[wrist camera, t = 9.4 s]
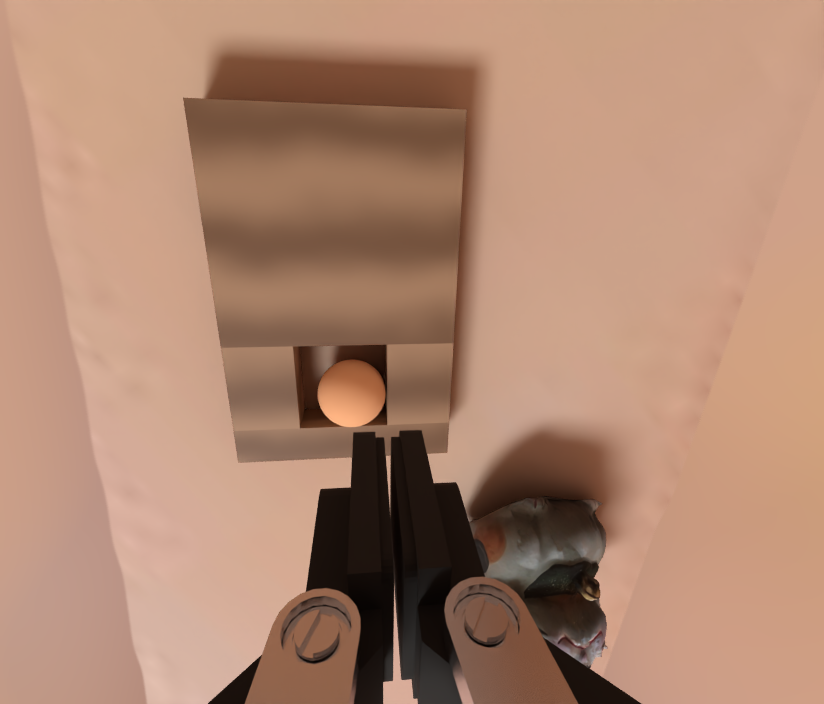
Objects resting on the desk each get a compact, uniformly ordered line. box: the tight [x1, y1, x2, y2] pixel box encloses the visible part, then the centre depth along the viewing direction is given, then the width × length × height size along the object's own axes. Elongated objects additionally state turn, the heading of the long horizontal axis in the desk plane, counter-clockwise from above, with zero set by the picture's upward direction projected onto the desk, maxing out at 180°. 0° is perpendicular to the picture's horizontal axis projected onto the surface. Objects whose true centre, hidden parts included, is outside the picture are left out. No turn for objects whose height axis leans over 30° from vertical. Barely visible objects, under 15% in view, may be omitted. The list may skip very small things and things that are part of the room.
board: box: [183, 98, 467, 463], centre depth 30 cm, size 24×16×3 cm, turn 179°
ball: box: [318, 359, 386, 427], centre depth 32 cm, size 5×5×5 cm
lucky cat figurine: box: [469, 496, 608, 669], centre depth 37 cm, size 15×12×14 cm
